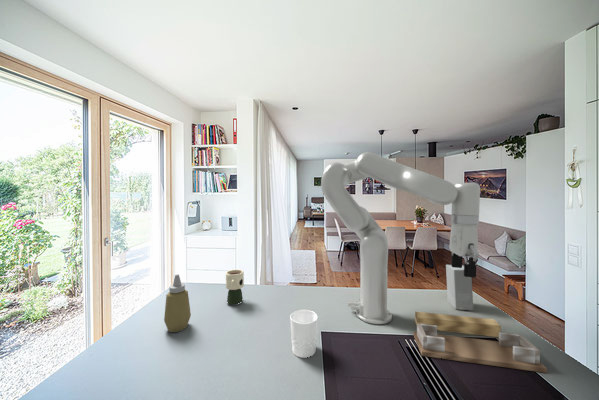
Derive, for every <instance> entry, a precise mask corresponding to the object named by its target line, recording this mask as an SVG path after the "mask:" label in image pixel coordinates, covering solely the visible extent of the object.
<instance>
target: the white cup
mask: <svg viewBox="0 0 599 400" xmlns="http://www.w3.org/2000/svg"><path fill="white" fill-rule="evenodd" d="M289 319H290V338H291V347H292V349H291V350H292V354H293V355H295V356H296V357H297V358H301V359H305V358H306V359H307V357H308V358H310V356H311V357H313V356H314V355H315V354H316V351H317V350H316V347H317V338H318V337H317V336H318V321H319V319H318V314H317V313H316V312H314V311H313V310H309V309H298V310H295V311H293V312H292V313H291V314H290V315H289Z"/></svg>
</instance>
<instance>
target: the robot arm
mask: <svg viewBox="0 0 599 400" xmlns="http://www.w3.org/2000/svg"><path fill="white" fill-rule="evenodd" d="M368 178H370V179H373V180H375V181H377V182H380V183H382V184H385V185H387V186H389V187H391V188H394V189H396V190H399V191H405V192H408V193H411V194H414V195H416V196H419V197H421V198H423V199H425V200H428V202H430V203H431V204H435V205H439V206H447V205H451V214H450V215H451V217H450V220H451V221H450V224H451V229H450V234H449V247H448V248H449V251H450V252H451V253H450V254H451V262H450V265H451V266H452V267H455V268H462V265H463V266H464V276H465V277H472V278H476V277H477V266H478V262H479V256H480V253H479V250H478V249H479V238H478V237H479V235H478V227H479V225H480V204H481V203H480V202H481V199H480V198H481V186H480V184H478V183H477V182H457V183H452V182H450V181H448V180H446V179H443V178H440V177H438V176H436V175H432V174H431V173H427V172H425V171H421V170H420V169H415V168H413V167H410V166H407V165H406V164H405V165H404V164H401V163H400V162H398V161H397V162H396V161H394V160H391V159H390V158H387V157H384V156H381V155H379V154H377V153H374V152H370V151H365V152H362V153H360V155H359V156H358V157H357V158H356V159H354V160H353V161H349V162H346V163H344V164H343V163H340V162H333V163H330V164H328V166H326V167H325V169H324V171H323V173H322V176H321V179H320V180H321V181H320V186H321V191H322V194H323V196H324V198H325V200H326V201H327V202H328V204H329V206H330V207H331V208H332V210H333V211H334V212H335V213H336V215H337V216H338V218H339V219H340V221H341V222H342V223H343V225H344V227H346V229H348V230H349V231H350V232H353V233H355V234H356V236H357V237H358V238H359V239H360V243H359V258H360V261H359V262H360V265H359V266H360V273H359V274H360V281H359V284H360V289H359V291H360V292H359V293H360V295H359V297H360V298H359V299H358V300H357V301H349V300H348V301H347V307H349V308H350V310H354V311H355V310H356V311H355V314H356V316H357V317H358V319H360V320H361V321H363V322H365V323H369V324H371V325H385V324H388V323H390V322H391V321H392V319H393V317H392V316H393V315H392V312H390V311H389V310H388V261H389V260H388V259H389V241H388V236H387V234H386V233H385V230H383V228H382V227H381V226H380V225H379V223H378V222H377V221H376V220H375V218H374V217H373V216H372V214H370V212H369V211H368V210H367V209H366V208H365V207H363V206H361V205H359V204H358V202H357V201H356V200H355V199H354V198H353V195H352V194H351V193H350V192H349V191H348V190H347V188H346V186H347V185H349V184H353V183H355V182H356V183H357V182H359V181H363V180H365V179H368ZM463 259H464V262H465V263H463Z"/></svg>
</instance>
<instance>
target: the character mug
mask: <svg viewBox="0 0 599 400" xmlns="http://www.w3.org/2000/svg"><path fill="white" fill-rule="evenodd" d="M244 275H245V274H244V270H242V269H230V270H227V271H226V272H225V289H227V290H228V292H227V298H226V299H227V301H226V303H227V302H228V303H229V304H228V303H227V304H228V305H232V304H238V303H240V302H242V303H243V300H244V299H243V292H242V288H244V283H245V281H244V280H245V279H244V278H245V277H244ZM242 299H243V300H242ZM238 305H239V304H238Z"/></svg>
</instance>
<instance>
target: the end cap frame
mask: <svg viewBox="0 0 599 400" xmlns="http://www.w3.org/2000/svg"><path fill="white" fill-rule="evenodd" d="M412 335H413V337H414V340H415V342H416V345H417V348H418V350H419V352H420V355H421V357H429V358H435V359H441V358H442V360H449V361H458V362H466V363H470V364H471V363H472V364H480V365H485V366H495V367H500V368H501V367H502V368H508V369H516V370H522V371H531V372H537V373H546V374H547V373H548V368H547V367H546V366H545V365H544V364H543V363H542V362H541V361H540V360H541V359H540V358H541V350H539V349H538V347H536V346H535V345H534V344H533V343H531V342H530V341H529V340H528V339H527V338H526V337H525V336H524V335H522V334H517V333H510V332H509V333H508V332H501V333H500V332H499V337H498V340H497V341H496V340H487V339H480V338H473V337H472V338H471V337H464V336H463V337H462V336H456V335H454V336H453V335H446V334H445V335H444V334H438V330H437V326H436V325H428V324H419V323H417V325H416V331H413V334H412Z"/></svg>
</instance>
